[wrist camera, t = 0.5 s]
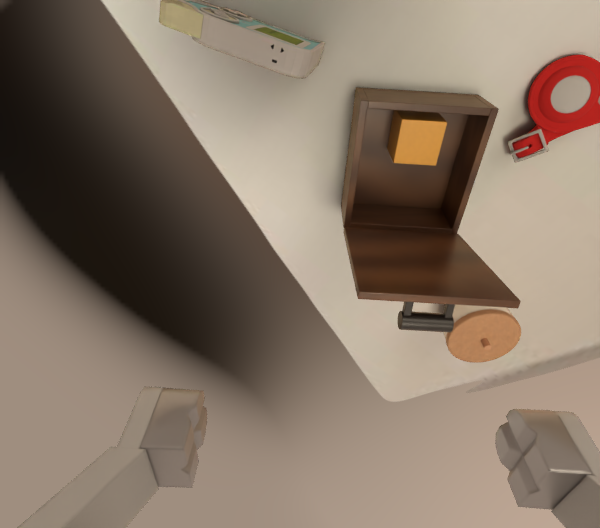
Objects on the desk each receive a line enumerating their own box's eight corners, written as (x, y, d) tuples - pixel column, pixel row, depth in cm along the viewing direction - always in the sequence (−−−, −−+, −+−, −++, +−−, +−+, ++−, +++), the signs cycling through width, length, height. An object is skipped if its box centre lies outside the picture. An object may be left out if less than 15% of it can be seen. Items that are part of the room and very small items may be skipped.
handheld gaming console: (197, -8, 43) (326, 40, 43) (194, 21, 44) (318, 66, 45) (148, -11, 34) (312, 49, 34) (146, 26, 35) (302, 82, 36)
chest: (355, 87, 46) (360, 100, 41) (478, 94, 46) (499, 108, 41) (340, 205, 55) (343, 228, 50) (443, 211, 55) (456, 234, 50)
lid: (358, 291, 35) (352, 337, 37) (521, 301, 35) (505, 346, 37) (344, 226, 50) (340, 262, 52) (458, 233, 50) (449, 268, 52)
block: (394, 107, 47) (402, 119, 42) (436, 109, 47) (447, 122, 43) (386, 148, 49) (393, 163, 45) (426, 150, 50) (436, 165, 45)
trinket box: (515, 299, 64) (542, 342, 57) (465, 336, 70) (483, 379, 62) (470, 269, 61) (492, 310, 54) (421, 310, 67) (435, 353, 59)
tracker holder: (543, 48, 42) (646, 58, 40) (531, 54, 46) (625, 63, 44) (506, 162, 47) (597, 176, 45) (498, 158, 51) (581, 171, 49)
